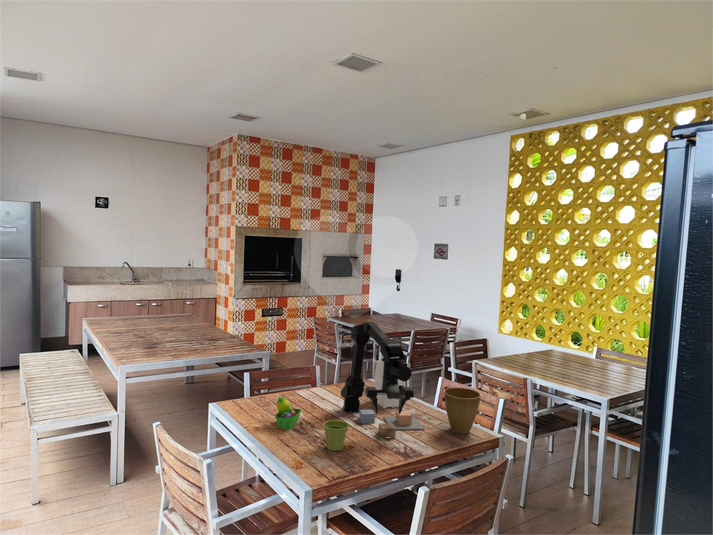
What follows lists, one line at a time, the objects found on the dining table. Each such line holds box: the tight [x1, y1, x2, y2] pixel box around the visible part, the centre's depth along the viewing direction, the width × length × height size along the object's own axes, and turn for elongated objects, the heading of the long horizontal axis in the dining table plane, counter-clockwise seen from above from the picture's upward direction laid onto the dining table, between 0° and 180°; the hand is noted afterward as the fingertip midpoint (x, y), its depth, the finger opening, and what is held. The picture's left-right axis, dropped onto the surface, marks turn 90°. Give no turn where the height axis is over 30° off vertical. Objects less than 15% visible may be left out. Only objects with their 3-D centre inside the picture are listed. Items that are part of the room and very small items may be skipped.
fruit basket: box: [274, 396, 302, 430], centre depth 192 cm, size 11×9×11 cm
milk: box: [373, 356, 407, 409], centre depth 226 cm, size 12×12×26 cm
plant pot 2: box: [443, 387, 482, 435], centre depth 196 cm, size 15×15×16 cm
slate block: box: [358, 409, 376, 424], centre depth 202 cm, size 6×6×4 cm
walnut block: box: [378, 422, 397, 439], centre depth 187 cm, size 6×6×4 cm
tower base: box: [383, 410, 425, 431], centre depth 200 cm, size 14×14×5 cm
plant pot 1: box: [322, 419, 350, 452], centre depth 172 cm, size 9×9×9 cm
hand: (387, 413), depth 187 cm, fingers open, 9 cm apart
